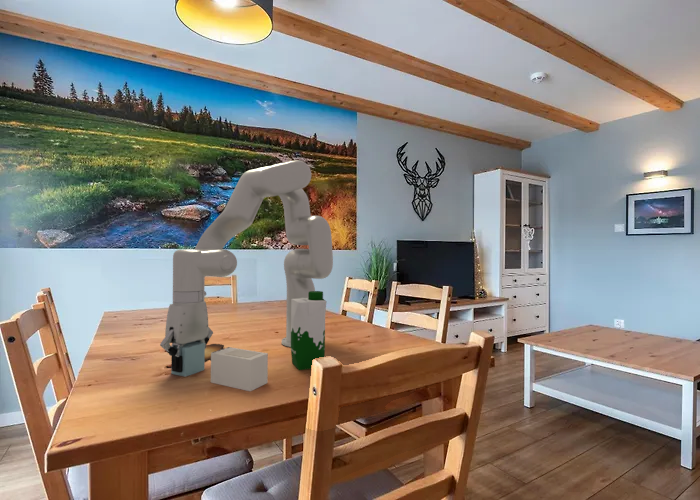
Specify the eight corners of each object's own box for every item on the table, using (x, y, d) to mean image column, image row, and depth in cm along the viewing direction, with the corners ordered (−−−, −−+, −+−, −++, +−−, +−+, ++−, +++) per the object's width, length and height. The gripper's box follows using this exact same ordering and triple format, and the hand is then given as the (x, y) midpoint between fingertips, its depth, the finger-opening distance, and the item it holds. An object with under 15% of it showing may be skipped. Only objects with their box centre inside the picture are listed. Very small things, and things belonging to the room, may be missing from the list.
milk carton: (328, 367, 101) (329, 293, 101) (295, 372, 97) (296, 294, 97) (318, 358, 109) (318, 289, 109) (287, 362, 105) (288, 291, 105)
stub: (190, 366, 100) (191, 340, 100) (204, 369, 98) (204, 342, 98) (171, 373, 95) (171, 345, 95) (185, 376, 93) (185, 347, 93)
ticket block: (229, 374, 94) (229, 346, 94) (267, 382, 89) (267, 352, 89) (210, 382, 89) (210, 352, 89) (250, 391, 84) (250, 359, 84)
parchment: (200, 345, 124) (200, 342, 124) (230, 344, 124) (230, 342, 124) (162, 370, 99) (162, 367, 99) (200, 370, 99) (200, 367, 99)
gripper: (204, 293, 106) (204, 357, 106) (148, 300, 90) (147, 375, 91) (224, 295, 103) (224, 360, 103) (169, 302, 87) (168, 380, 87)
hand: (188, 367), depth 97 cm, fingers closed on stub, 6 cm apart
